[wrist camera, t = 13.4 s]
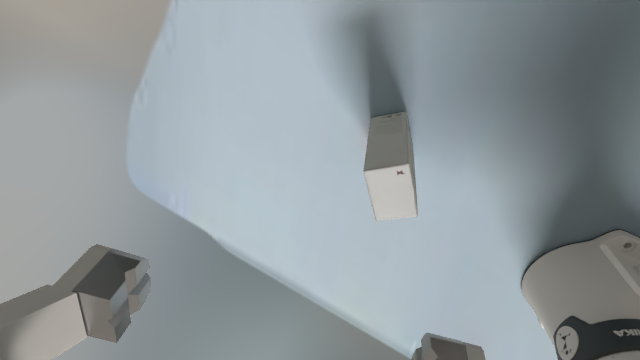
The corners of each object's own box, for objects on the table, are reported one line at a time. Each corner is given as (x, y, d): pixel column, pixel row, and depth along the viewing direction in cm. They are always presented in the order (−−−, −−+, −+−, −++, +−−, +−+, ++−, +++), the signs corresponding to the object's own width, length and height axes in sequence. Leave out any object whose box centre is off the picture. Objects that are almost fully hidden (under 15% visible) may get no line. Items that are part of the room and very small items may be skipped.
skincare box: (369, 116, 45) (362, 169, 35) (406, 110, 44) (410, 162, 34) (379, 162, 48) (374, 222, 38) (414, 156, 47) (419, 217, 37)
